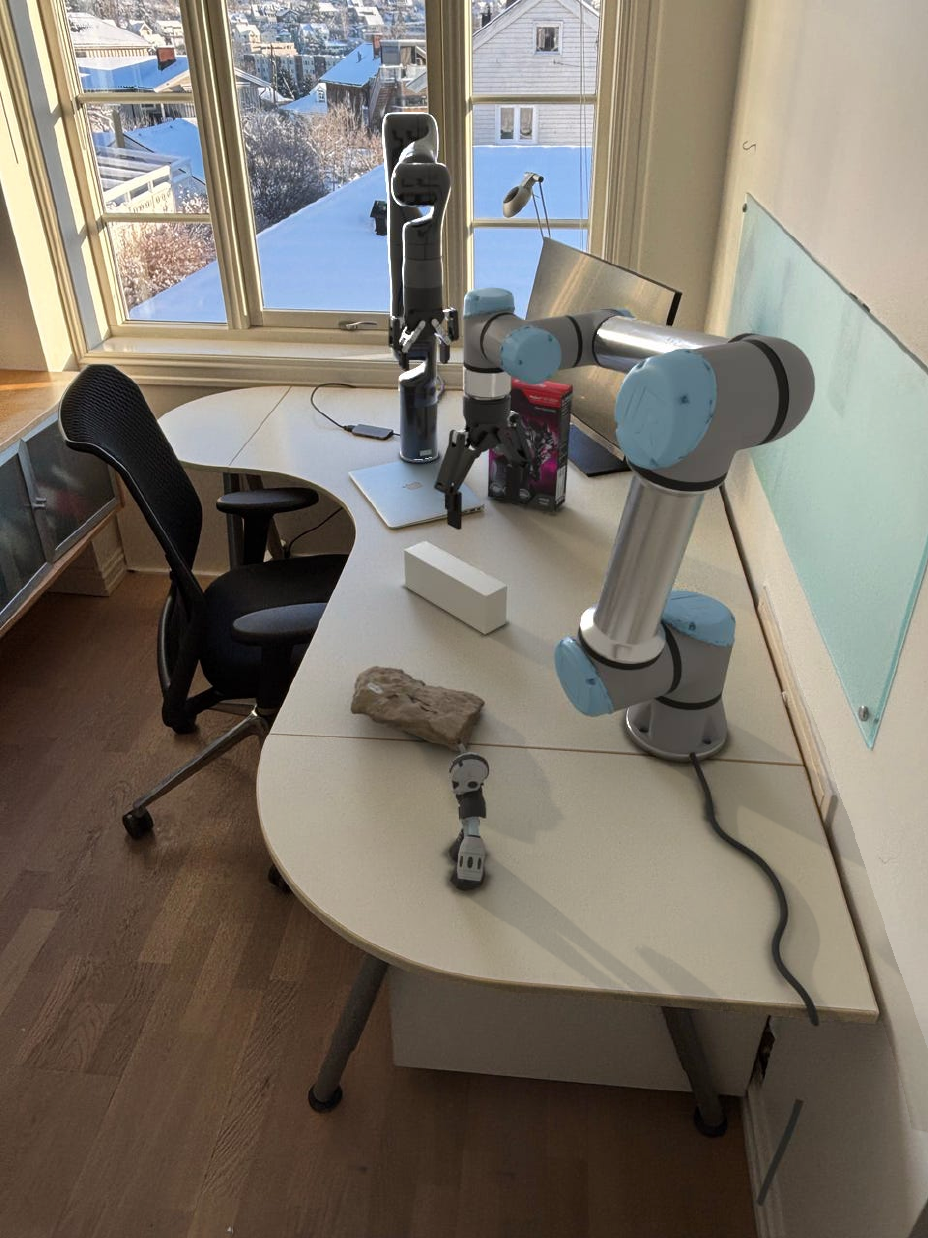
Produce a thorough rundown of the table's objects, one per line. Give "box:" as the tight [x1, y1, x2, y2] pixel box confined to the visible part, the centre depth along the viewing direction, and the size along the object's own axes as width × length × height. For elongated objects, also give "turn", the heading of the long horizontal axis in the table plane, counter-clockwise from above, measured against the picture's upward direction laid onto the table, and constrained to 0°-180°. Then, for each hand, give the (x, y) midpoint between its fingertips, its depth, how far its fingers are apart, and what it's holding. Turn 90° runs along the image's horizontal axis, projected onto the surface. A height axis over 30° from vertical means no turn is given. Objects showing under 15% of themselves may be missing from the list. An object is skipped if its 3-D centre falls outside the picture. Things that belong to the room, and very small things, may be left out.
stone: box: [349, 665, 486, 752], centre depth 143 cm, size 21×15×6 cm
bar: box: [403, 540, 508, 635], centre depth 170 cm, size 22×5×8 cm, turn 43°
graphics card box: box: [487, 377, 574, 513], centre depth 201 cm, size 17×7×27 cm, turn 62°
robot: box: [448, 739, 490, 891], centre depth 115 cm, size 20×5×20 cm, turn 3°
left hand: (424, 366), depth 181 cm, fingers open, 8 cm apart
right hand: (483, 514), depth 156 cm, fingers open, 13 cm apart
